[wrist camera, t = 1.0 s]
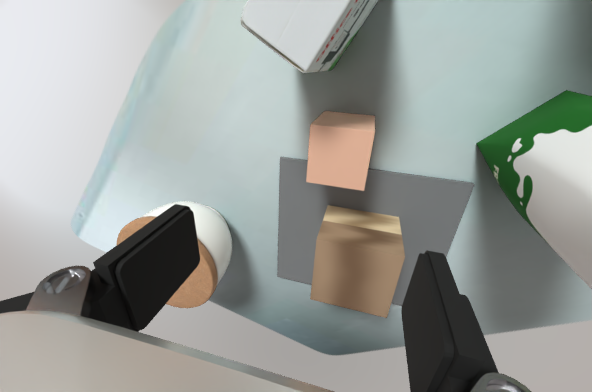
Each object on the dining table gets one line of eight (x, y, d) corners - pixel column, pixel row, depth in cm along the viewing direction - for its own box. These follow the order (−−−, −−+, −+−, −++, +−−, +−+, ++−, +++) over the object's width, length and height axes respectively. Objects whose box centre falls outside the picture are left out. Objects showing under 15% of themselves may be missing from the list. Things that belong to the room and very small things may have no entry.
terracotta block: (374, 115, 26) (375, 131, 20) (366, 163, 28) (364, 190, 22) (324, 110, 27) (310, 124, 21) (320, 157, 30) (306, 182, 23)
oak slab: (398, 217, 30) (401, 234, 27) (384, 271, 33) (385, 292, 30) (327, 205, 31) (322, 220, 28) (321, 258, 35) (316, 276, 32)
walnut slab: (401, 234, 27) (405, 256, 24) (385, 292, 30) (386, 317, 27) (322, 220, 28) (316, 239, 25) (316, 276, 32) (310, 299, 29)
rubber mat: (473, 182, 26) (474, 184, 26) (424, 308, 35) (424, 310, 34) (281, 156, 31) (280, 157, 30) (278, 274, 39) (277, 276, 39)
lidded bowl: (206, 271, 43) (158, 331, 33) (152, 209, 40) (82, 256, 30) (264, 244, 37) (226, 307, 28) (206, 170, 34) (141, 212, 25)
